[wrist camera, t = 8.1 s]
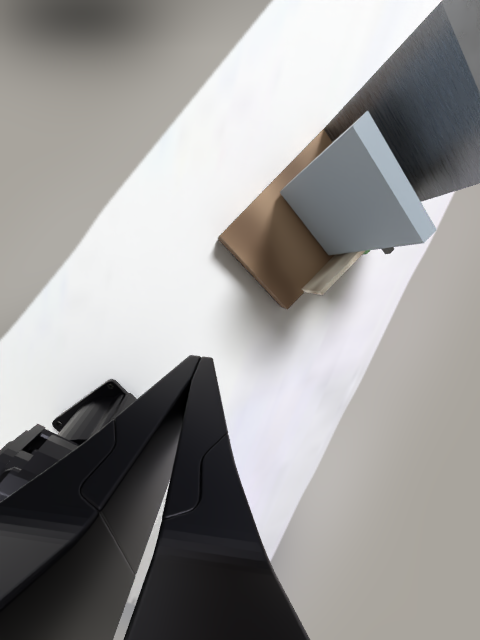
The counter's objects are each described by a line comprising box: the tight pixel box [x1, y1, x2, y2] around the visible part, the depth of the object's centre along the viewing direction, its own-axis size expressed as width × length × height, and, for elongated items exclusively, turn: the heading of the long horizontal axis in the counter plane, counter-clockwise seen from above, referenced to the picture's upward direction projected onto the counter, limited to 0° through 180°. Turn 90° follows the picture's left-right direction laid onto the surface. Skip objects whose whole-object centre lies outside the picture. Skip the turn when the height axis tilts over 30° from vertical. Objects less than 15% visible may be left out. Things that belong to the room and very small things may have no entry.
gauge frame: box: [218, 129, 370, 309], centre depth 20 cm, size 14×9×5 cm, turn 135°
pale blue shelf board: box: [280, 111, 436, 255], centre depth 16 cm, size 4×9×9 cm, turn 45°
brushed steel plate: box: [324, 0, 480, 202], centre depth 16 cm, size 2×9×10 cm, turn 45°
